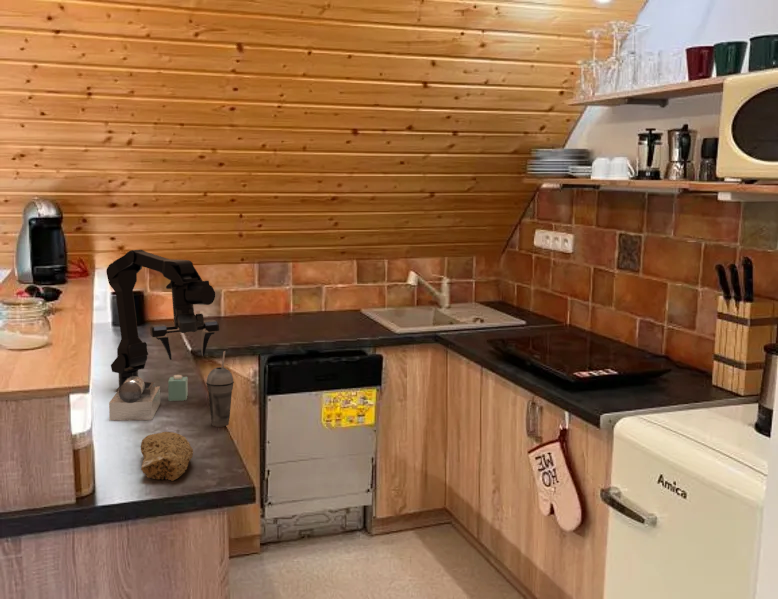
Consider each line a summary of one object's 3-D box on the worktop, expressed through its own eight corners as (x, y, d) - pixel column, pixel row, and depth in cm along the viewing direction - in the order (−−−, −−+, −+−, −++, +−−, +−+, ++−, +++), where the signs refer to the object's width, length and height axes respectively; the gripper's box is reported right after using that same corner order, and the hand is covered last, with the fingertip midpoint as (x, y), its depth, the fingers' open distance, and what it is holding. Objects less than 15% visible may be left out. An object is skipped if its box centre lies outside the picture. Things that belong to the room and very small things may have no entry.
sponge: (189, 487, 166) (203, 439, 185) (180, 457, 163) (195, 411, 182) (129, 497, 166) (149, 448, 184) (119, 467, 163) (141, 420, 182)
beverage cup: (204, 421, 207) (203, 349, 204) (230, 419, 210) (230, 347, 207) (209, 429, 200) (208, 355, 198) (236, 426, 203) (236, 353, 200)
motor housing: (121, 403, 221) (120, 367, 220) (160, 403, 223) (159, 367, 221) (109, 420, 205) (108, 382, 204) (151, 420, 207) (151, 381, 206)
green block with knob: (170, 396, 231) (170, 373, 230) (187, 396, 231) (187, 373, 230) (168, 400, 226) (168, 377, 225) (185, 400, 226) (185, 377, 225)
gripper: (152, 309, 208) (157, 366, 210) (221, 303, 216) (224, 358, 217) (148, 306, 218) (152, 359, 220) (213, 300, 226) (217, 352, 227)
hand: (186, 357), depth 221 cm, fingers open, 9 cm apart
